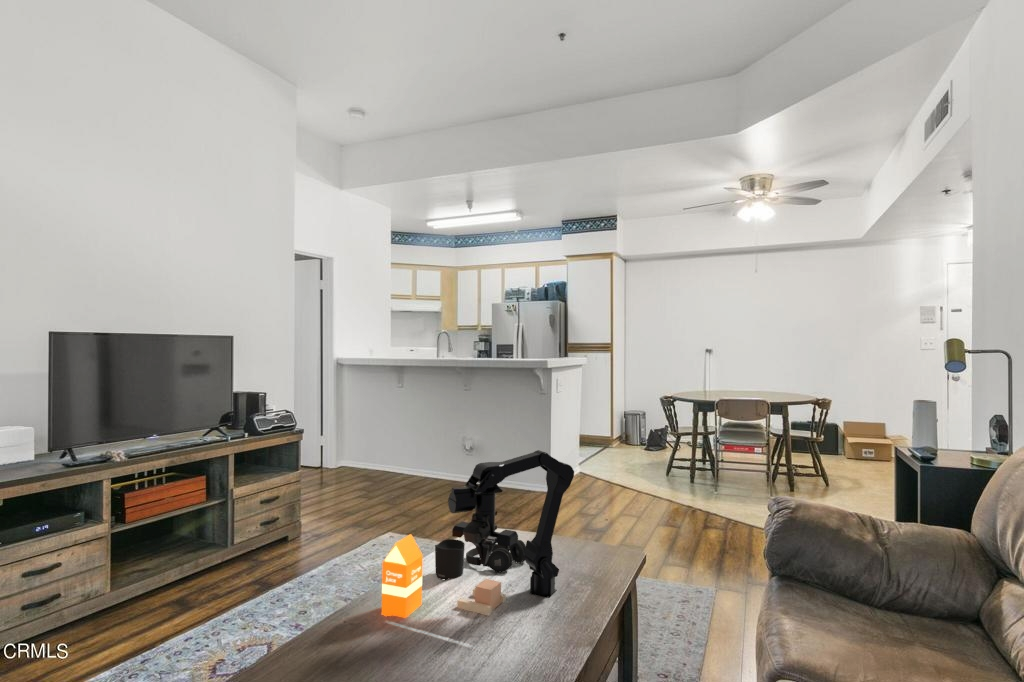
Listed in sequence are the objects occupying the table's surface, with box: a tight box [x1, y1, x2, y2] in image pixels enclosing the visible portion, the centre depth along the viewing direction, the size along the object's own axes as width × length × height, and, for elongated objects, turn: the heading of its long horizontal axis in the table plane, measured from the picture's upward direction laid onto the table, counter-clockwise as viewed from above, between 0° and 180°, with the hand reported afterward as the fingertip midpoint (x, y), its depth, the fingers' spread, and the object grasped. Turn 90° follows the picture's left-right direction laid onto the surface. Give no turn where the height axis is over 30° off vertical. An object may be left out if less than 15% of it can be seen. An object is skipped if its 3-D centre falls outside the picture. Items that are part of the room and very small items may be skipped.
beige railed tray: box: [456, 587, 507, 617], centre depth 162 cm, size 18×12×2 cm, turn 63°
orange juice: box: [381, 533, 424, 619], centre depth 156 cm, size 8×9×20 cm
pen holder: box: [434, 538, 465, 581], centre depth 181 cm, size 9×9×10 cm
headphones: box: [465, 539, 526, 574], centre depth 193 cm, size 17×7×20 cm
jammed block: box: [474, 578, 502, 612], centre depth 159 cm, size 5×6×6 cm
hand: (484, 564), depth 160 cm, fingers closed
